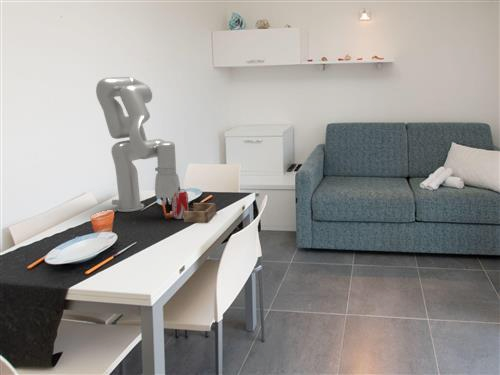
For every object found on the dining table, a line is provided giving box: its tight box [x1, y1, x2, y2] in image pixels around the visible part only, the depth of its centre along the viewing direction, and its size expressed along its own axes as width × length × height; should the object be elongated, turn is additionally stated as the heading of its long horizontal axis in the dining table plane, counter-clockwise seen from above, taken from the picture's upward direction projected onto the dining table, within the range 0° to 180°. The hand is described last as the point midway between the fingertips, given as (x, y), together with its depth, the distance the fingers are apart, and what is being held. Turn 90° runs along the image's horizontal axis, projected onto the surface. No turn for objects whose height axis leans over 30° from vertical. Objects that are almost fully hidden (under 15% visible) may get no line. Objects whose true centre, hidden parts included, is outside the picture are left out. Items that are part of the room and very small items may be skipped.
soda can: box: [171, 188, 189, 220], centre depth 216 cm, size 7×7×12 cm
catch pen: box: [183, 202, 217, 224], centre depth 216 cm, size 10×14×4 cm
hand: (169, 212), depth 219 cm, fingers closed
